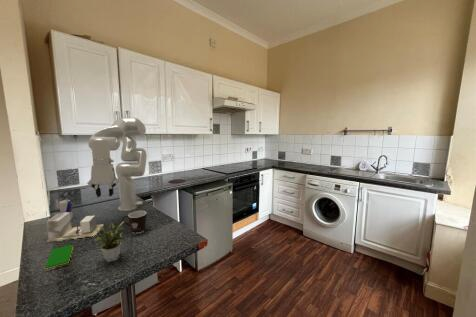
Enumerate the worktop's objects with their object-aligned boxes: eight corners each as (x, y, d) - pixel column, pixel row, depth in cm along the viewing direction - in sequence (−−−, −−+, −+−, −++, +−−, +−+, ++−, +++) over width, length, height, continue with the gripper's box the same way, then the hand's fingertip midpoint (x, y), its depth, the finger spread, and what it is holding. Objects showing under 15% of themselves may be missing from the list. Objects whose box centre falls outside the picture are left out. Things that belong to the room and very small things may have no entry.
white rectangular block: (96, 225, 110) (95, 215, 109) (89, 234, 101) (87, 223, 100) (87, 226, 109) (86, 216, 108) (78, 235, 100) (77, 224, 99)
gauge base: (103, 225, 113) (102, 209, 112) (94, 237, 102) (93, 218, 100) (61, 230, 108) (59, 212, 106) (47, 242, 96) (44, 223, 95)
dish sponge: (73, 248, 93) (73, 244, 92) (69, 266, 81) (68, 260, 81) (53, 254, 89) (52, 249, 88) (45, 273, 77) (44, 267, 77)
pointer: (80, 233, 102) (79, 224, 101) (78, 235, 100) (77, 226, 99) (78, 234, 102) (76, 224, 101) (76, 236, 100) (74, 226, 99)
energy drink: (75, 219, 121) (73, 200, 119) (65, 223, 116) (62, 203, 114) (69, 217, 122) (67, 198, 120) (59, 221, 117) (56, 202, 115)
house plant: (83, 275, 76) (78, 235, 73) (92, 254, 88) (88, 219, 86) (126, 265, 81) (123, 228, 79) (129, 247, 94) (126, 214, 91)
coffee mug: (151, 229, 110) (149, 212, 108) (137, 237, 102) (135, 219, 100) (136, 225, 114) (135, 208, 113) (122, 232, 107) (120, 214, 105)
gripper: (122, 160, 109) (125, 192, 112) (86, 161, 104) (89, 194, 107) (118, 162, 102) (121, 197, 105) (79, 164, 97) (83, 199, 100)
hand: (105, 195), depth 106 cm, fingers open, 4 cm apart
